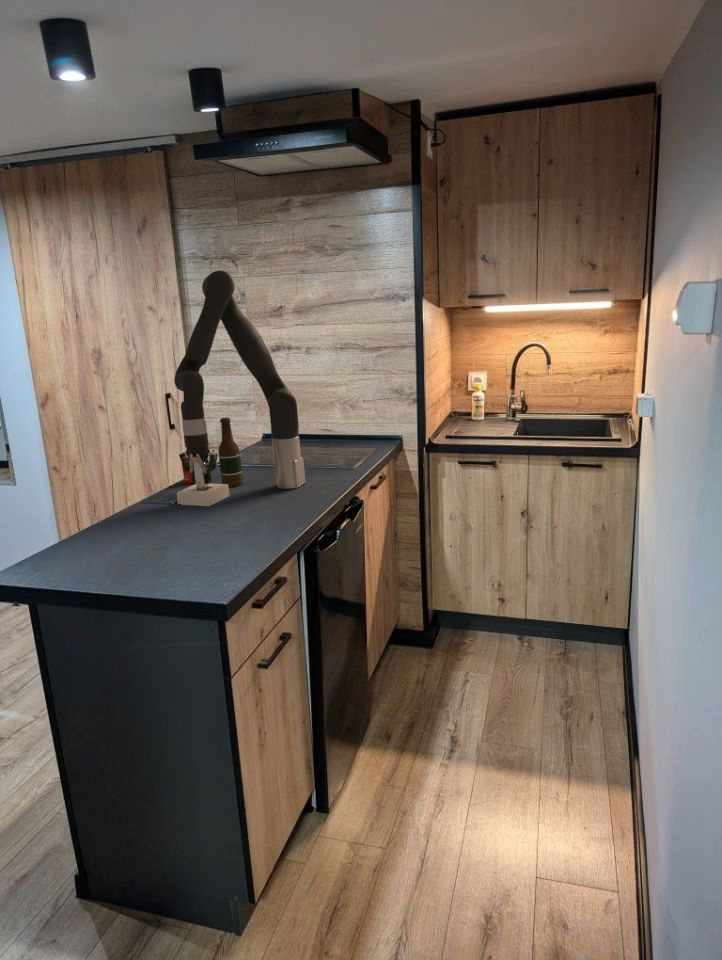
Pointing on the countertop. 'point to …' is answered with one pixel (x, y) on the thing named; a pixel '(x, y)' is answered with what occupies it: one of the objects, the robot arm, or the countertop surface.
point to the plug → (199, 476)
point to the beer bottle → (229, 457)
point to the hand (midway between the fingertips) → (201, 483)
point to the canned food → (187, 475)
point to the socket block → (203, 495)
